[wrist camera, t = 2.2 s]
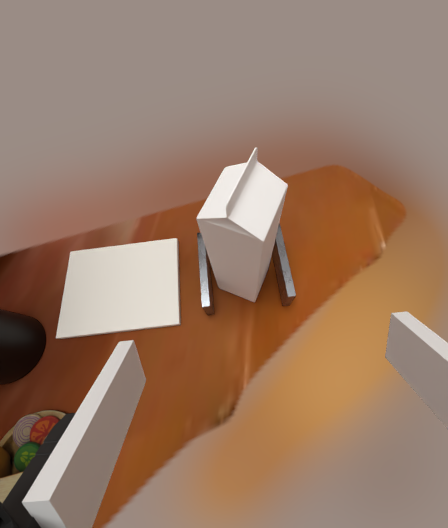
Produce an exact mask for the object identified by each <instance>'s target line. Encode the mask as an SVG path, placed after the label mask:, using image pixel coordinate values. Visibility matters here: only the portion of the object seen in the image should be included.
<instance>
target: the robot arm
mask: <svg viewBox="0 0 448 528" xmlns="http://www.w3.org/2000/svg"><path fill="white" fill-rule="evenodd" d="M385 357H386V359H387V360H388V361H389V362H390V363H391V364H392V365H393V367H394V368H395V369H396V370H397V371H398V373H399V374H400V375H401V376H402V377H403V378H404V379H405V381H406V382H407V383H408V384H409V385H410V386H411V388H412V389H413V390H414V391H415V392H416V393H417V395H418V396H419V397H420V398H421V399H422V400H423V401H424V403H425V404H426V405H427V406H428V407H429V408H430V409H431V411H432V412H433V413H434V414H435V415H436V416H437V418H438V419H439V420H440V421H441V422H442V423H443V425H444V426H445V427H446V428H447V429H448V343H447V342H446V341H444V340H443V339H442V338H441V337H439V336H438V335H437V334H435V333H434V332H433V331H431V330H430V329H429V328H428V327H426V326H425V325H424V324H422V323H421V322H420V321H419V320H417V319H416V318H415V317H413V316H412V315H411V314H409V313H408V312H398V313H391V319H390V326H389V333H388V340H387V348H386V355H385ZM145 382H146V378H145V375H144V372H143V369H142V366H141V362H140V359H139V356H138V353H137V349H136V346H135V343H134V340H130V341H121V342H119V343H118V345H117V346H116V348H115V350H114V351H113V353H112V355H111V356H110V358H109V359H108V361H107V363H106V364H105V366H104V368H103V369H102V371H101V373H100V374H99V376H98V378H97V379H96V381H95V383H94V384H93V386H92V387H91V389H90V391H89V392H88V394H87V396H86V397H85V399H84V401H83V402H82V404H81V406H80V407H79V409H78V411H77V412H76V413H71V414H66V415H65V416H64V417H63V418H62V419H61V420H60V421H59V422H58V423H57V424H55V425H54V426H53V428H52V429H51V431H50V432H49V434H48V435H47V437H46V438H45V440H44V443H43V444H41V446H40V447H39V449H38V450H37V452H36V453H35V457H33V458H32V459H31V461H30V462H29V464H28V465H27V467H26V469H25V470H24V472H23V473H22V475H21V476H20V478H19V479H18V481H17V482H16V484H15V485H14V487H13V488H12V490H11V491H10V493H9V494H8V496H7V497H6V499H5V500H4V502H3V503H1V502H0V528H92V526H93V523H94V521H95V518H96V515H97V513H98V510H99V507H100V504H101V502H102V499H103V496H104V493H105V491H106V488H107V485H108V483H109V480H110V477H111V474H112V472H113V469H114V466H115V464H116V461H117V458H118V455H119V453H120V450H121V447H122V445H123V442H124V439H125V436H126V434H127V431H128V428H129V426H130V423H131V420H132V417H133V415H134V412H135V409H136V406H137V404H138V401H139V398H140V396H141V393H142V390H143V387H144V385H145Z"/></svg>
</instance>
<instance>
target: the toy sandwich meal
mask: <svg viewBox="0 0 448 528" xmlns="http://www.w3.org/2000/svg"><path fill="white" fill-rule="evenodd" d="M65 415H66V414H65V413H63V412H59V411H55V410H45V411H40V412H37V413H34V414H29V415H26V416H24V417H23V418H21V419H20V420H19V421H18V422H17V423H16V425H15V426H14V427H13V428H12V429H11V430H10V431H9V432H8V433H7V434H6V435H5V436H4V437H3V439H2V440H1V441H0V502H1V503H3V502H4V500H5V499H6V497H7V496H8V494H9V493H10V491H11V490H12V488H13V487H14V485H15V484H16V482H17V481H18V479H19V478H20V476H21V475H22V473H23V472H24V470H25V469H26V467H27V465H28V464H29V462H30V461H31V459H32V458H33V457H35V453H36V452H37V450H38V449H39V447H40V446H41V444H43V443H44V440H45V438H46V437H47V435H48V434H49V432H50V431H51V429H52V428H53V426H54V425H55V424H57V423H58V422H59V421H60V420H61V419H62V418H63V417H64V416H65Z"/></svg>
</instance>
